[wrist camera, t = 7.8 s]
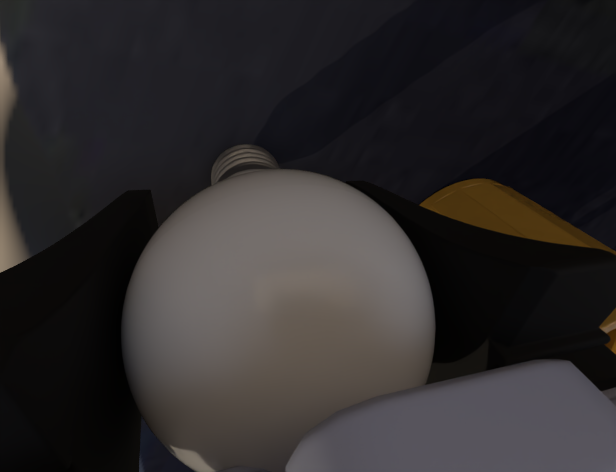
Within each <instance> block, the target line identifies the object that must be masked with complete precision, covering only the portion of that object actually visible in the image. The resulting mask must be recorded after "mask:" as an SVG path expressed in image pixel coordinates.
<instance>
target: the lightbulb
mask: <svg viewBox="0 0 616 472" xmlns="http://www.w3.org/2000/svg"><path fill="white" fill-rule="evenodd" d="M211 182H212V185H211V186H209V187H207V188H205V189H204V190H202V191H200V192H199V193H197V194H196V195H194V196H193V197H191V198H190V199H188V200H187V201H186V202H184V203H183V204H182V205H181V206H179V207H178V208H177V209H176V210H175V211H174V212H173V213H172V214H171V215H170V216H169V217H168V218H167V219H166V220H165V221H164V222H163V223H162V224H161V226H160V227H159V228H158V229H157V230H156V232H155V233H154V234H153V236H152V237H151V239H150V240H149V241H148V243H147V245H146V246H145V248H144V250H143V251H142V253H141V255H140V257H139V259H138V261H137V263H136V265H135V267H134V270H133V272H132V275H131V277H130V280H129V283H128V286H127V290H126V294H125V298H124V303H123V309H122V316H121V351H122V360H123V366H124V371H125V375H126V379H127V382H128V386H129V389H130V392H131V394H132V397H133V399H134V402H135V404H136V406H137V408H138V410H139V412H140V414H141V416H142V417H143V419H144V421H145V422H146V424H147V425H148V427H149V428H150V430H151V431H152V432H153V434H154V435H155V436H156V438H157V439H158V440H159V441H160V442H161V443H162V444H163V445H164V447H165V448H166V449H167V450H168V451H170V452H171V453H172V454H173V455H174V456H175V457H176V458H177V459H179V460H180V461H181V462H182V463H184V464H185V465H186V466H188V467H189V468H191V469H192V470H194V471H195V472H215V471H219V470H223V469H227V468H230V467H234V466H245V467H252V468H263V469H265V470H267V471H270V472H285V469H286V465H287V463H288V461H289V459H290V458H291V456H292V454H293V452H294V451H295V449H296V447H297V446H298V444H299V443H300V441H301V439H302V438H303V436H304V435H305V433H306V432H308V431H309V430H311V429H312V428H314V427H315V426H316V425H318V424H319V423H321V422H322V421H324V420H325V419H327V418H328V417H329V416H331V415H332V414H334V413H335V412H337V411H339V410H341V409H344V408H347V407H350V406H352V405H355V404H358V403H360V402H363V401H366V400H368V399H371V398H374V397H376V396H380V395H384V394H389V393H393V392H397V391H402V390H406V389H410V388H415V387H419V386H423V385H426V383H427V380H428V376H429V373H430V369H431V365H432V360H433V355H434V348H435V335H436V321H435V308H434V301H433V296H432V291H431V287H430V283H429V280H428V277H427V273H426V271H425V268H424V266H423V263H422V261H421V259H420V257H419V255H418V253H417V251H416V249H415V247H414V245H413V244H412V242H411V241H410V239H409V237H408V236H407V235H406V233H405V232H404V230H403V229H402V228H401V227H400V225H399V224H398V223H397V222H396V221H395V220H394V219H393V217H392V216H391V215H390V214H389V213H388V212H387V211H386V210H384V209H383V208H382V207H381V206H380V205H379V204H378V203H376V202H375V201H374V200H373V199H371V198H370V197H368V196H367V195H366V194H364V193H362V192H361V191H359V190H358V189H356V188H354V187H352V186H350V185H348V184H346V183H344V182H342V181H339V180H337V179H334V178H332V177H329V176H326V175H322V174H319V173H314V172H309V171H304V170H296V169H280V168H279V165H278V163H277V162H276V160H275V158H274V157H273V156H272V155H271V154H270V153H269V152H268V151H267V150H265V149H263V148H261V147H259V146H256V145H251V144H241V145H236V146H233V147H231V148H229V149H227V150H225V151H224V152H223V153H222V154H221V155H220V156H219V157H218V158H217V159H216V161H215V163H214V165H213V167H212V171H211Z"/></svg>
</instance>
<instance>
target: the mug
mask: <svg viewBox="0 0 616 472" xmlns="http://www.w3.org/2000/svg"><path fill="white" fill-rule="evenodd" d="M420 206H422V207H424V208H427V209H429V210H432V211H434V212H436V213H439V214H441V215H444V216H447V217H449V218H452V219H455V220H458V221H461V222H464V223H467V224H471V225H474V226H477V227H481V228H484V229H488V230H492V231H496V232H500V233H504V234H508V235H513V236H518V237H523V238H528V239H534V240H539V241H545V242H550V243H557V244H565V245H573V246H581V247H589V248H597V249H603V250H606V251H609V252H611V253H613V254H615V255H616V252H615V251H614V250H612V249H610V248H609V247H607V246H605V245H604V244H602V243H601V242H599V241H597V240H596V239H594V238H592V237H591V236H589V235H587V234H586V233H584V232H582V231H581V230H579V229H578V228H576V227H574V226H573V225H571V224H569V223H568V222H566V221H564V220H563V219H561V218H559V217H558V216H556V215H555V214H553V213H551V212H550V211H548V210H546V209H545V208H543V207H541V206H540V205H538V204H536V203H535V202H533V201H532V200H530V199H528V198H527V197H525V196H523V195H522V194H520V193H518V192H517V191H515V190H513V189H512V188H510V187H507V186H504V185H502V184H501V183H499V182H497V181H494V180H490V179H470V180H465V181H461V182H458V183H455V184H452V185H450V186H447V187H445V188H443V189H442V190H440V191H438V192H436V193H435V194H433V195H432V196H430V197H429V198H427V199H426V200H425V201H423V202H422V203H421V204H420ZM599 328H600V329H602V330H603V331H604V332H605V333H606V334H608V335H609V336H610V339H611V340H610V342H609V343H608V344H604V345H605V346H607V347H608V348H609V349H610V350H611V351H612V352H614V353H615V354H616V308H615V309H614V310H613V312H612V313H611V314H610V315H609V316H608V317H607V318H606V320H605V321H604V322H603V323H602V324H601V325H600V326H599Z"/></svg>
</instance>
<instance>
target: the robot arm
mask: <svg viewBox="0 0 616 472" xmlns="http://www.w3.org/2000/svg"><path fill="white" fill-rule="evenodd" d="M346 184H348V185H350V186H352V187H354V188H356V189H358V190H359V191H361V192H362V193H364V194H366V195H367V196H368V197H370V198H371V199H373V200H374V201H375V202H376V203H378V204H379V205H380V206H381V207H382V208H383V209H384V210H386V211H387V212H388V213H389V214H390V215H391V216H392V217H393V219H394V220H395V221H396V222H397V223H398V224H399V225H400V227H401V228H402V229H403V230H404V232H405V233H406V235H407V236H408V237H409V239H410V241H411V242H412V244H413V245H414V247H415V249H416V251H417V253H418V255H419V257H420V259H421V261H422V263H423V266H424V268H425V271H426V273H427V277H428V280H429V283H430V287H431V291H432V296H433V301H434V308H435V321H436V335H435V348H434V355H433V360H432V365H431V369H430V373H429V376H428V380H427V383H426V385H423V386H419V387H415V388H410V389H406V390H402V391H397V392H393V393H389V394H384V395H380V396H376V397H374V398H371V399H368V400H366V401H363V402H360V403H358V404H355V405H352V406H350V407H347V408H344V409H341V410H339V411H337V412H335V413H334V414H332V415H331V416H329V417H328V418H327V419H325V420H324V421H322V422H321V423H319V424H318V425H316V426H315V427H314V428H312V429H311V430H309V431H308V432H306V433H305V435H304V436H303V438H302V439H301V441H300V443H299V444H298V446H297V447H296V449H295V451H294V452H293V454H292V456H291V458H290V459H289V461H288V463H287V465H286V469H285V472H616V354H615V353H614V352H612V351H611V350H610V349H609V348H608V347H607V346H605V345H604V344H608V343H609V342H610V340H611V339H610V336H609V335H608V334H606V333H605V332H604V331H603V330H602V329H600V328H599V326H600V325H601V324H602V323H603V322H604V321H605V320H606V318H607V317H608V316H609V315H610V314H611V313H612V312H613V310H614V309H615V308H616V255H615V254H613V253H611V252H609V251H606V250H603V249H597V248H589V247H581V246H573V245H565V244H557V243H550V242H545V241H539V240H534V239H528V238H523V237H518V236H513V235H508V234H504V233H500V232H496V231H492V230H488V229H484V228H481V227H477V226H474V225H471V224H467V223H464V222H461V221H458V220H455V219H452V218H449V217H447V216H444V215H441V214H439V213H436V212H434V211H432V210H429V209H427V208H424V207H422V206H420V205H417V204H415V203H413V202H411V201H408V200H406V199H404V198H402V197H400V196H398V195H396V194H394V193H391V192H389V191H387V190H385V189H383V188H381V187H378V186H376V185H374V184H371V183H368V182H365V181H346ZM157 229H158V223H157V219H156V214H155V209H154V204H153V199H152V195H151V190H133V191H127V192H125V193H123V194H122V195H121V196H119V197H118V198H117V199H116V200H114V201H113V202H112V203H110V204H109V205H108V206H107V207H105V208H104V209H103V210H102V211H100V212H99V213H98V214H96V215H95V216H94V217H92V218H91V219H90V220H88V221H87V222H86V223H84V224H83V225H81V226H80V227H78V228H77V229H76V230H74V231H73V232H71V233H70V234H69V235H67V236H65V237H64V238H62V239H61V240H60V241H58V242H56V243H55V244H54V245H52V246H50V247H48V248H47V249H45V250H43V251H42V252H40V253H38V254H36V255H34V256H32V257H31V258H29V259H27V260H25V261H23V262H22V263H20V264H18V265H16V266H14V267H12V268H10V269H7V270H5V271H3V272H1V273H0V472H139V453H140V433H141V414H140V412H139V410H138V408H137V406H136V404H135V402H134V399H133V397H132V394H131V392H130V389H129V386H128V382H127V379H126V375H125V371H124V366H123V360H122V351H121V316H122V309H123V303H124V298H125V294H126V290H127V286H128V283H129V280H130V277H131V275H132V272H133V270H134V267H135V265H136V263H137V261H138V259H139V257H140V255H141V253H142V251H143V250H144V248H145V246H146V245H147V243H148V241H149V240H150V239H151V237H152V236H153V234H154V233H155V232H156V230H157ZM215 472H270V471H267V470H265V469H263V468H252V467H245V466H234V467H230V468H227V469H223V470H219V471H215Z"/></svg>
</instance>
